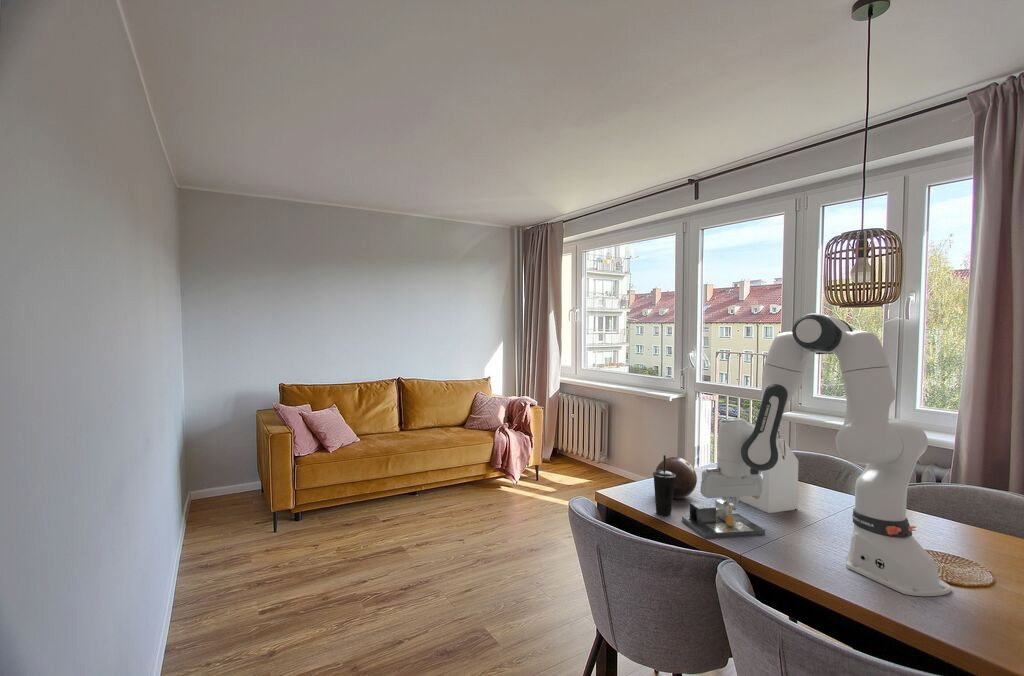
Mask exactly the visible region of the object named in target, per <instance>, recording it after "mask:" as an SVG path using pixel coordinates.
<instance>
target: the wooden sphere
mask: <svg viewBox="0 0 1024 676" xmlns="http://www.w3.org/2000/svg"><path fill="white" fill-rule="evenodd" d="M658 470H663V460H662V461H660V463H659V464H657V466H656V469H655V471H658ZM665 470H668V471H670V472H672V473H674V474H676V477H675V483H674V492H673V499H678V500H679V499H683V498H684V499H685V498H686V497H688V496H690V495H692V493H693V492H694V491H695V489H696V486H697V484H698V483H697V482H698V479H697V478H698V477H697V472H696V469H695V468H694V467H693V465H692V464H691V463H690V462H688V460H686V459H684V458H681V457H679V456H678V457H677V456H673V457H666V463H665Z"/></svg>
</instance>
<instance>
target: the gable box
mask: <svg viewBox="0 0 1024 676" xmlns="http://www.w3.org/2000/svg"><path fill="white" fill-rule="evenodd" d="M749 423H750V424H751V425H753V426H755V424H756V423H751V422H749ZM777 439H778V440H779V443H780V449H779V454H778V461H777V463H776V465H775V466H774V467H773V468H771V469H769V470H766V471H761V474H762V485H763V490H762V494H761V495H760V496H745V497H740V500H739V502H742V503H745V504H747V505H749V506H751V507H753V508H755V509H758V510H760V511H762V512H765V513H767V514H773V513H780V512H781V513H782V512H787V511H795V509H796V510H798V508H799V507H798V504H799V503H798V502H799V501H798V500H799V495H798V494H799V459H798V458H797V456H796V455H795V454H794V452H793V450H792V449H791V448H790V446H789V445H788V444H787V442H786V441H785V439H783V438H781V437H780V431H779V430H778V433H777Z"/></svg>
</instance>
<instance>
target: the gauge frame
mask: <svg viewBox="0 0 1024 676" xmlns="http://www.w3.org/2000/svg"><path fill="white" fill-rule="evenodd" d="M732 517H733V519H734V520H735V521H736V524H733V526H729V525H728V524H726V522H725V521H724V520H722V519H721V518H719V517H718V516H716V507H715V506H714V505H713V504H711V503H709V502H707V501H702V502H701V501H699V502H689V515H684V516H683V515H682V516H681V521H682V523H684V524H686V526H688V527H689V528H690V529H692V530H693V531H694V532H695V533H697V534H698V535H699V536H701V537H702V538H703V539H705V540H706V539H721V538H736V537H748V536H749V537H750V536H751V537H753V536H766V530H765V529H764V528H762V527H761V526H759V525H758V524H756V523H755V522H753V521H751V520H749V519H747V518H746V517H744V516H742V515H741V514H739V513H736V512H735V513H732Z"/></svg>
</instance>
